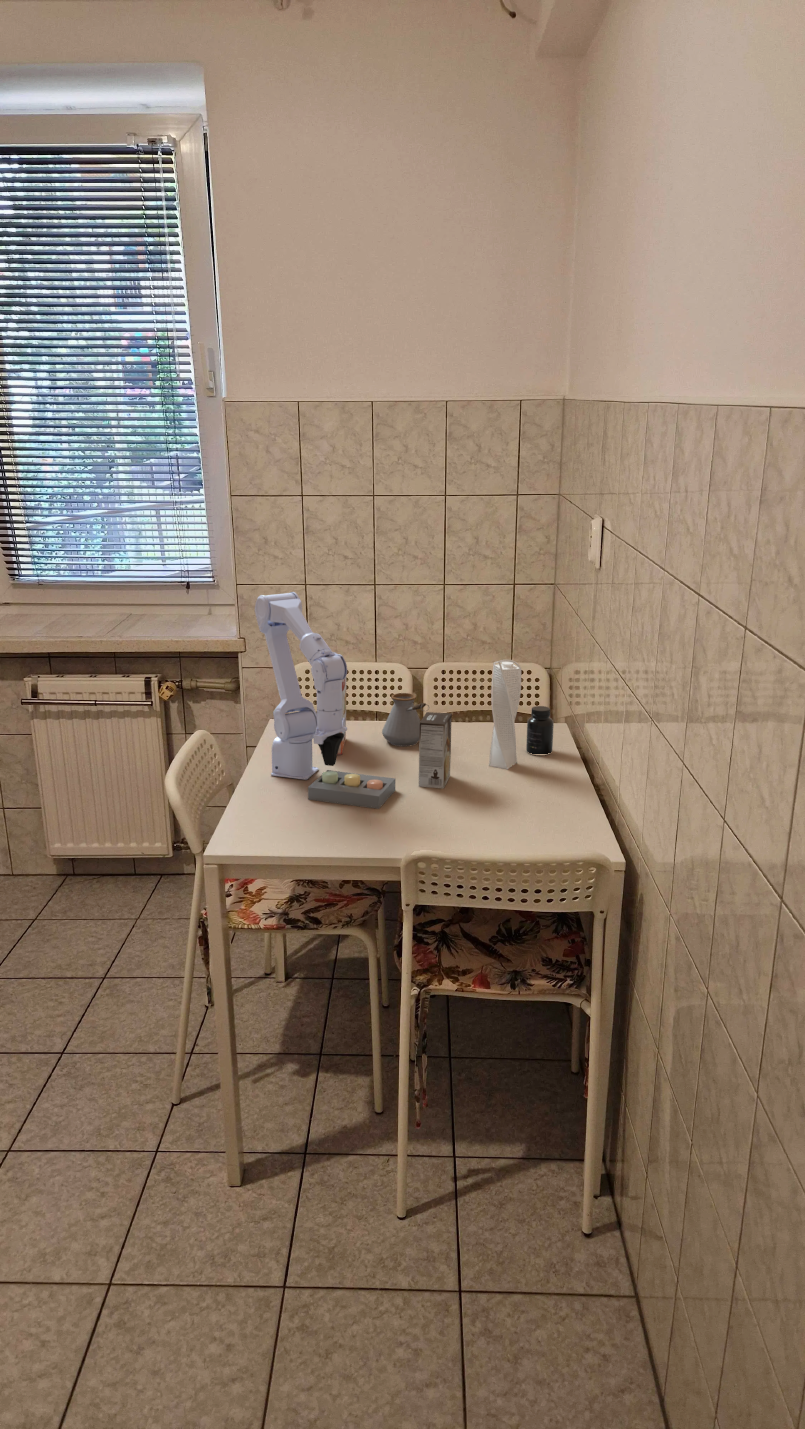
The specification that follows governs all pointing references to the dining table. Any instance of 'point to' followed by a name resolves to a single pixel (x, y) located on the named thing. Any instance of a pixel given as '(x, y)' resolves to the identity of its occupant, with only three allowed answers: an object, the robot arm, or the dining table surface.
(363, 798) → the button panel
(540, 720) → the supplement bottle
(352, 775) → the button ochre
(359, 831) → the dining table surface
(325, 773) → the button sage
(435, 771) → the coffee box
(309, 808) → the dining table surface
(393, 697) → the coffee pot
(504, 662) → the skyscraper
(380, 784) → the button terracotta
